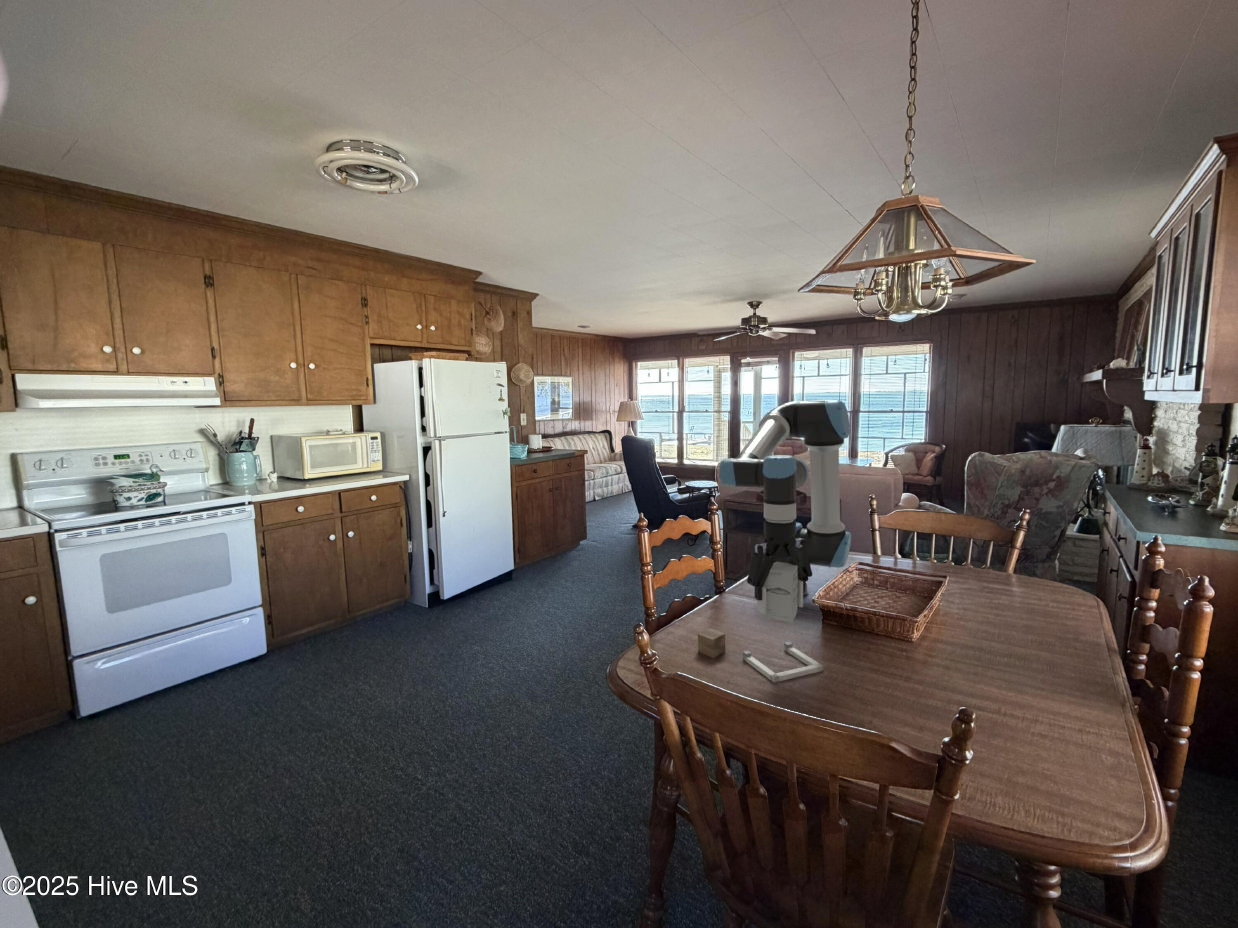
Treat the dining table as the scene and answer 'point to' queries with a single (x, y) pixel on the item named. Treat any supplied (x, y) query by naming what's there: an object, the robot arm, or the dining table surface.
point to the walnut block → (711, 642)
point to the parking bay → (785, 675)
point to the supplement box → (781, 592)
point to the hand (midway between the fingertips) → (780, 608)
